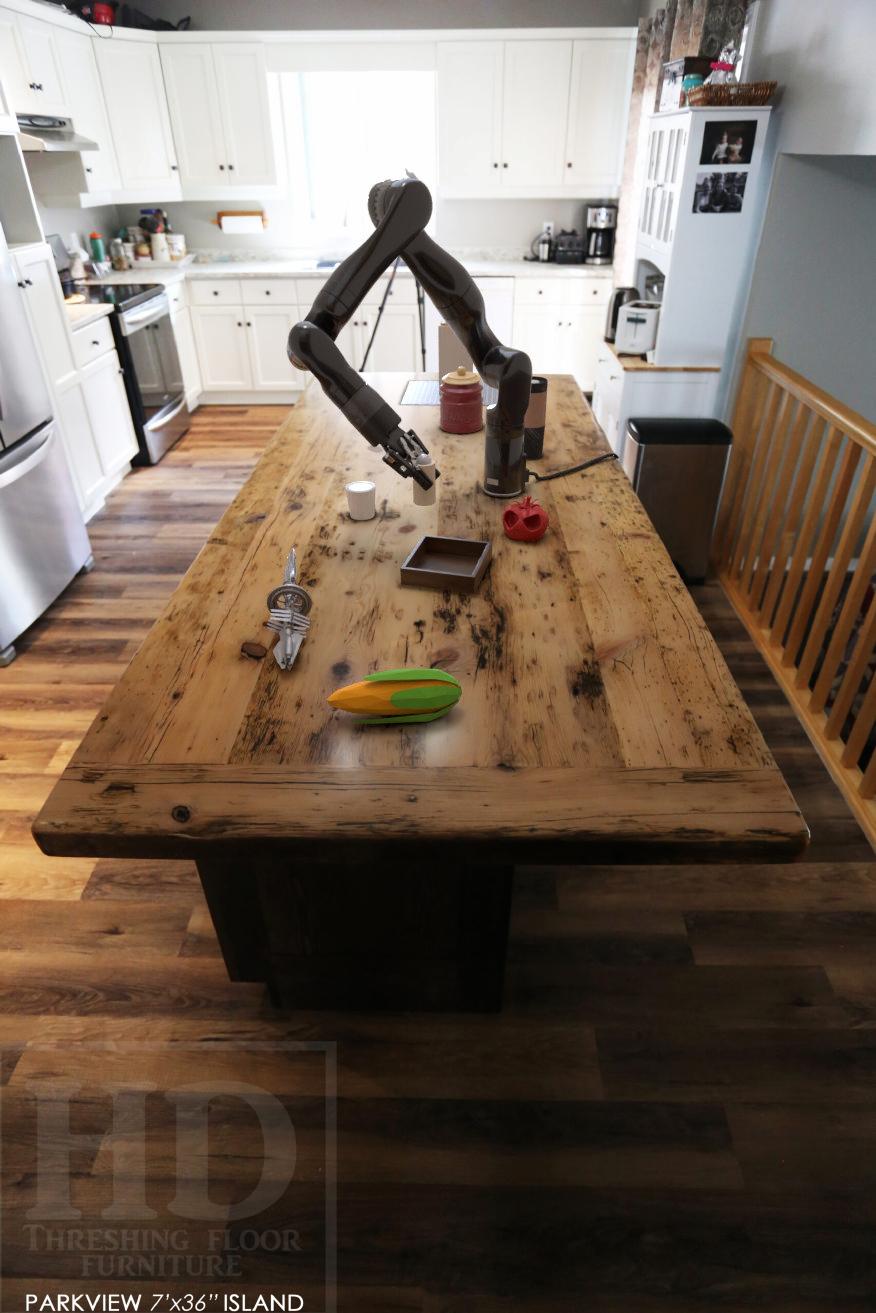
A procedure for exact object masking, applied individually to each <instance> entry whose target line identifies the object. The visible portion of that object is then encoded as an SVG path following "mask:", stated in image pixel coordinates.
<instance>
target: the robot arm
mask: <svg viewBox="0 0 876 1313" xmlns="http://www.w3.org/2000/svg"><path fill="white" fill-rule="evenodd" d="M433 206H434V203H433V196H432V194H431V191H430V189H429V187H428V186H427V185H426V184H425V182H423V181H422V180H420V179H418V178H414V177H399V178H388V179H384V180H381V181H377V182H376V183H375V184H374V185H373V186H371V188H370V190H369V192H368V195H367V211H368V215H369V218H370V221H371V223H372V225H373V226H374V228H375V230H374V231H373V232H372V234H370V236H369V237H367V239H366V240H365V241H364V242H363V243H362V244H361V245H360V246H358V248H356V249H355V250H354V251H353V252H352V253H350V255H348V256H347V257H346V258H345V259H344V260H342V262H341V263H339V265H338V266H337V267H336V268H335V269H334V270H333V272H332V273H331V274H330V275H329V277H327V278H328V279H327V280H326V281H325V283H324V285H323V286H322V287H321V289H320V290H319V292H317V295H316V296H315V298H314V300H313V302H312V305H311V308H310V310H309V312H307V314H306V316H305V318H304V319H303V321H302V320H301V321H299V322H297V323H296V324H294V325H293V326H292V327H291V329H290V330H289V333H288V336H287V343H286V356H287V358H288V360H289V362H290V364H291V365H292V366H293V367H294V368H295V369H297V370H299V371H301V372H302V371H303V372H310V373H311V374H312V375H313V376H314V378H316V380H317V381H318V382H319V385H320V387H321V390H322V391H323V393H324V394H325V396H326V397H327V398H328V399H329V400H330V401H331V402H332V403H333V405H335V407H337V409H338V410H339V411H340V412H341V414H342V415H343V416H344V417H345V418H346V420H347V421H348V422H349V424H351V425H352V427H354V429H355V430H356V431H357V432H358V433H359V434H360V435H361V436H362V437H363V438H364V439H365V441H367V443H368V444H369V445H371V447H373V448H376V447H378V446H379V445H380V446H381V447H382V449H383V450H384V452H385V454H384V455H383V457H382V458H381V460H382V462H384V464H386V465H387V466H388V467H390V468H391V469H392V470H393V471H395V472H396V474H398V475H399V476H401V477H402V478H403V479H407V478H410V479H412V480H413V479H414V480H415V481H416V482H417V483H418V484H419V485H420V486H421V487H422V488H423V489H424V490H425V491H427V490H429V489H430V488H431V487H432V486H433V484H434V483H433V481H432V480H431V479H430V478H429V477H428V476H427V475H426V474H425V473H424V471H423V470H422V469H421V470H420V467H419V466H418V464H417V463H416V462H415V459H417V457H418V456H419V455H421V454H427V455H428V456H429V454H430V452H429V450H428V448H427V447H426V446H425V444H424V443H423V441H422V440H421V439H420V437H419V436H418V434H417V433H416V431H415V430H413V429H412V428H410V429H409V430H407V431H406V430H403V428H401V427H400V426H399V425H400V424H401V423H402V417H401V416H400V415H399V414H398V413H397V412H396V411H395V409H393V407H391V405H390V404H389V403H388V402H387V401H386V400H385V399H384V398H383V397H382V396H381V394H380V393H379V392H377V390H376V389H375V388H373V387H372V386H371V385H370V384H369V383H367V381H366V380H365V379H364V378H363V377H362V376H361V375H360V374H359V373H358V371H357V370H355V369H354V368H353V367H352V365H351V364H350V363H349V362H348V361H347V359H346V358H345V356H344V355H343V353H342V352H341V349H340V348H338V346H337V344H336V340H337V338H338V337H339V335H340V333H341V332H342V330H343V329H344V328H345V326H346V325H347V324H348V323H349V321H350V320H351V319H352V317H353V316H354V315H355V313H356V311H357V310H358V308H359V307H360V305H361V304H362V303H363V301H364V300H365V298H366V297H367V295H368V294H369V292H370V291H371V290H372V288H373V287H374V286H375V284H376V283H377V282H378V281H379V279H380V278H381V277H382V276H383V275H384V273H385V272H386V271H387V270H388V269H389V267H390V266H391V265H392V264H393V263H395V261H396V260H397V259H398V258H400V260H402V262H403V263H404V264H405V265H406V266H407V268H408V269H409V271H410V273H411V274H412V275H413V277H414V278H415V280H416V281H417V282H418V284H419V285H420V287H421V289H423V292H425V294H426V295H427V296H428V299H430V301H431V303H432V304H433V306H434V307H435V309H436V311H437V312H438V313H439V315H440V316H441V318H442V319H443V320H444V322H445V323H447V324H448V325H449V327H450V328H451V330H452V331H453V332H454V334H455V335H456V337H457V338H458V339H459V341H460V342H461V343H462V345H463V346H464V348H465V349H466V351H467V353H468V354H469V356H470V358H471V360H472V362H473V367H474V368H475V369H476V371H477V373H478V376H479V377H480V378H481V380H482V382H485V383H486V384H487V385H488V386H490V387H492V388H495V389H498V400H497V404H494V405H488V406H487V408H486V409H485V416H484V418H485V420H484V421H485V423H484V467H483V487H482V488H483V489H482V490H483V493H484V494H486V495H487V496H490V497H493V498H501V499H502V498H503V499H504V498H512V497H516V496H518V495H520V494H522V493H525V491H526V484H527V483H529V482H530V476H533V477H534V478H535V480H536V481H546V480H551V479H554V478H557V477H560V476H563V475H567V474H570V473H574V472H576V471H579V470H581V469H584V468H586V467H588V466H590V465H592V464H594V463H596V462H599V461H602V460H605V459H607V458H611V457H612V458H614V459H620V456H619V455H618V454H616V453H615V452H609V453H606V454H604V455H601V456H598V457H595V458H593V459H590V460H588V461H586V462H584V463H582V464H579V465H577V466H573V467H572V468H568V469H565V470H561V471H557V472H555V473H552V474H549V475H546V476H539V474H538V472H535V471H530V469H529V468H528V467H527V460H526V457H527V455H526V453H524V452H523V449H524V429H525V415H526V412H527V410H528V407H529V402H530V393H531V384H532V376H533V363H532V359H531V357H530V356H529V355H528V353H526V352H525V351H523V350H520V349H517V348H512V347H511V346H510V347H509V346H506V345H504V344H503V343H502V342H501V341H500V339H498V338H497V336H496V334H495V332H494V331H493V330H492V329H491V327H490V326H489V323H488V320H487V314H486V304H485V299H484V297H483V294H482V292H481V290H480V289H479V287H478V285H477V284H476V282H475V281H474V279H473V277H472V275H471V274H470V272H469V271H468V270H467V269H466V267H465V266H463V264H462V263H461V262H460V261H459V260H457V259H456V258H455V257H454V256H452V255H451V254H450V253H449V252H448V251H447V250H445V248H443V247H442V246H441V245H439V244H438V243H437V242H435V241H434V240H433V238H432V237H431V236H430V235H429V234H428V232H426V230H425V228H426V227H427V226H428V225H429V222H430V220H431V217H432V214H433V210H434V209H433V208H434V207H433ZM613 455H614V456H613ZM419 470H420V471H419ZM440 476H441V472H440V471H439V469H438V468H437V467H436V466H435V481H437V479H439V478H440Z"/></svg>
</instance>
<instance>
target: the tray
mask: <svg viewBox="0 0 876 1313" xmlns="http://www.w3.org/2000/svg"><path fill="white" fill-rule="evenodd" d="M492 558H493V541H488V540H487V541H486V540H477V539H468V538H458V537H450V536H440V535H432V534H422V536H421V537H420V538H419V540H418V541H417V543H416V545H415V546H414V548H413V549H412V551H411V552H410V553H409V555H408V556H407V558H406V560H404V563H403V564H402V566H401V567H399V569H400V571H399V572H400V585H403V586H404V585H405V586H411V587H412V586H413V587H419V588H427V589H434V590H443V591H453V592H459V593H466V594H475V593H476V591H477V590H478V587H479V585H480V583H481V581H482V578H483V577H484V574H485V572H486V571H487V568H488V567H489V564H490V562H491V560H492Z"/></svg>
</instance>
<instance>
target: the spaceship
mask: <svg viewBox="0 0 876 1313" xmlns="http://www.w3.org/2000/svg"><path fill="white" fill-rule="evenodd" d="M284 568H285V569H284V574H283V582H282V584H281V585H279V586H277V587H275V588H273V589H272V590H270V592H269V593H268V595H267V596H266V597H267V598H266V607H267V609H268V611H269V613H270V618H267V621H268V622H267V624H266V625H267V627H266V629H267V630H268V631H271V632H274V633H276V634H279V641H278V642H277V643H276V645H275V647H274V648H273V649H272V653H273V655H274V657H275V660H276V662H277V664H278V665H279V666H280V669H281V670H283V669H285V670H286V669H287V670H288V671H291V669H292V668H293V666H294V663H295V661H296V658H297V655H298V652H299V650H300V646H301V644H302V642H303V639H307V635H306V634H307V631H306V630H307V629H311V627H310V626H309V625H310V624H311V622H310V620H311V619H310V617H307V616H308V615H309V613H310V612H311V611H312V608H313V600H312V597H311V595H310V594H309V592H308V591H307V590H306V589H305V588H303V587H302V586H299V585H298V581H297V575H298V574H297V571H298V570H297V569H298V567H297V556H296V550H295V548H294V547H292V548H291V549H290V552H289V553H288V555H287V559H286V563H285V567H284ZM281 597H283V599H284V600H283V599H280V598H281ZM278 602H279V603H282V604H281V605H280V606H279V604H278ZM298 602H301V604H300V603H298ZM297 607H298V608H297ZM278 621H282V622H283V623H281V622H278ZM294 625H295V626H294ZM296 625H298V626H296Z"/></svg>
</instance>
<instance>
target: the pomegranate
mask: <svg viewBox="0 0 876 1313" xmlns="http://www.w3.org/2000/svg"><path fill="white" fill-rule="evenodd" d="M532 498H533V496H532V495H526V497H525V496H523V497H522V502H521V501H519V500H513V501H512V503H514V504H510V505H508V506H506V507H505V508H504V509H503V512H502V515H501V520H502V526H503V529H504V532H505V534H506V536H508V538H510V539H511V540H513V541H520V542H524V543H529V542H530V543H531V542H535V541H538V540H540V539H542V537H544V535H545V533H546V531H547V529H548V527H549V524H550V516H549V514H548V513H547V512H546V511H545V509H543V508H542V507H543V505H540V504H539V503H536V501H539V500H540V498H536V499H534V500H533V501H531V500H532Z"/></svg>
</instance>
